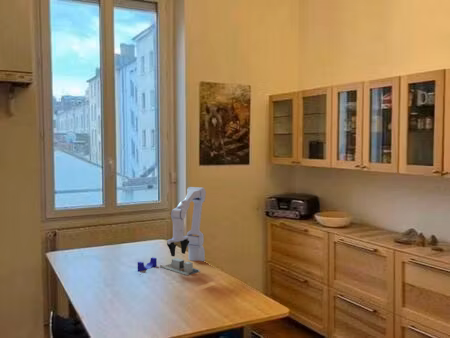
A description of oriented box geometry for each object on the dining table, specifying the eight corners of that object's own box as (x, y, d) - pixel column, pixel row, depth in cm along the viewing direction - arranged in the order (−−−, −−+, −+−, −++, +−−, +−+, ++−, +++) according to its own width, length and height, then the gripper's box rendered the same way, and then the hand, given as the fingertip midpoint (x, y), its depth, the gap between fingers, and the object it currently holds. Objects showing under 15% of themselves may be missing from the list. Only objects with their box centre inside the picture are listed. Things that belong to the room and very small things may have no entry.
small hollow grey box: (188, 270, 252) (188, 261, 252) (192, 271, 250) (192, 262, 250) (183, 272, 250) (183, 262, 249) (187, 273, 248) (187, 264, 247)
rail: (173, 266, 266) (173, 261, 266) (200, 274, 251) (200, 269, 251) (159, 269, 258) (159, 265, 258) (186, 278, 244) (186, 273, 243)
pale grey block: (176, 266, 259) (176, 258, 258) (184, 269, 254) (184, 260, 254) (171, 268, 256) (171, 259, 256) (179, 270, 252) (179, 261, 252)
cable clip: (150, 267, 264) (150, 256, 263) (156, 268, 261) (156, 258, 261) (135, 272, 254) (135, 261, 253) (141, 274, 251) (141, 263, 251)
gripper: (183, 227, 262) (183, 250, 263) (163, 231, 251) (163, 255, 252) (191, 229, 257) (191, 253, 258) (171, 233, 246) (171, 258, 247)
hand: (178, 254), depth 255 cm, fingers open, 7 cm apart
